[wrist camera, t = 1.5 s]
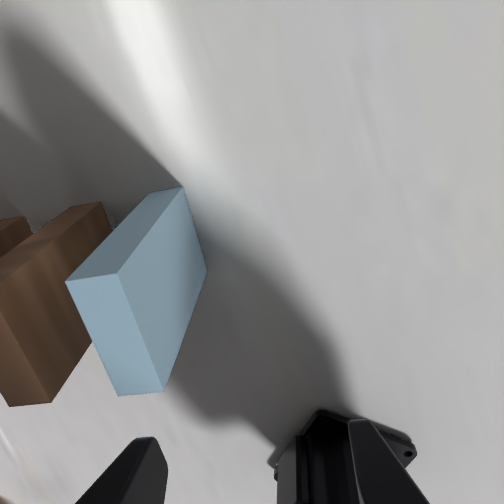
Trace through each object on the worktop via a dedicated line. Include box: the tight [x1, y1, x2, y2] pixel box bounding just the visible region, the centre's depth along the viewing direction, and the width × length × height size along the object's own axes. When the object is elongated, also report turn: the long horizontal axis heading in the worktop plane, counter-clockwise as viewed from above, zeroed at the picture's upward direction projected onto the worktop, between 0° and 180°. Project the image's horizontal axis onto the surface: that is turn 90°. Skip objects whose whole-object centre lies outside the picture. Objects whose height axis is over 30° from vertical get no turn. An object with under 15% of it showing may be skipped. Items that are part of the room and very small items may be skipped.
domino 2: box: [65, 187, 208, 396], centre depth 16 cm, size 2×4×8 cm, turn 13°
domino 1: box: [0, 202, 112, 407], centre depth 17 cm, size 2×4×8 cm, turn 13°
